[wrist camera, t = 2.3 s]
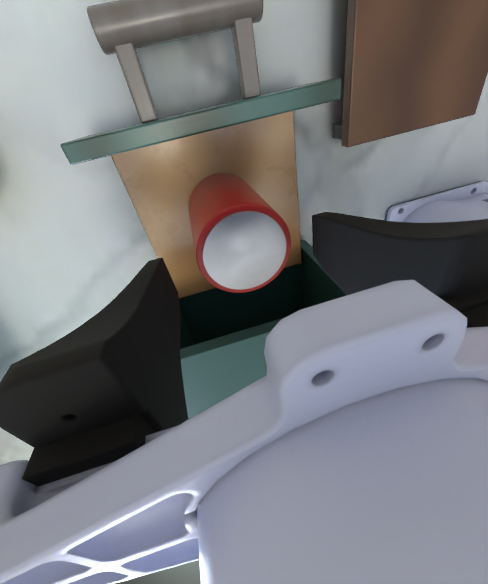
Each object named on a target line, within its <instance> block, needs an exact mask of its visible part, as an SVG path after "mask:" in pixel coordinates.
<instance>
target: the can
mask: <svg viewBox="0 0 488 584" xmlns="http://www.w3.org/2000/svg"><path fill="white" fill-rule="evenodd" d="M188 210H189V217H190V223H191V230H192V236H193V242H194V249H195V255H196V261H197V265H198V267H199V270H200V272H201V273H202V275H203V276H204V277H205V279H206V280H207V281H208V282H209V283H211V284H212V285H214V286H215V287H217V288H219V289H221V290H224V291H228V292H234V293H243V292H250V291H254V290H256V289H259V288H261V287H263V286H265V285H267V284H268V283H270V282H271V281H272V280H274V279H275V278H276V277H277V276H278V275H279V273H280V272H281V271H282V270H283V268H284V266H285V265H286V263H287V260H288V258H289V255H290V250H291V237H290V232H289V229H288V227H287V224H286V223H285V221H284V220H283V218H282V217H281V216H280V215H279V214H278V213H277V212H276V211H275V210H274V209H273V208H272V207H271V206H270V205H269V204H268V203H267V202H266V201H265V200H264V199H263V198H262V197H261V196H260V195H259V194H258V193H257V192H256V191H254V190H253V189H252V188H251V187H250V186H249V185H248V184H247V183H246V182H245V181H244V180H243V179H242V178H240V177H238V176H236V175H234V174H230V173H216V174H212V175H210V176H208V177H206V178H204V179H203V180H201V181H200V182H199V183H198V184H197V185H196V187H195V188H194V190H193V191H192V194H191V196H190V199H189V208H188Z"/></svg>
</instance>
